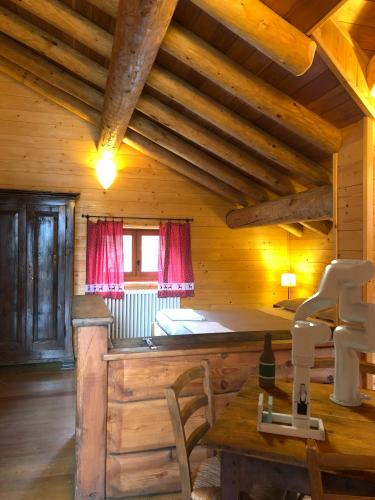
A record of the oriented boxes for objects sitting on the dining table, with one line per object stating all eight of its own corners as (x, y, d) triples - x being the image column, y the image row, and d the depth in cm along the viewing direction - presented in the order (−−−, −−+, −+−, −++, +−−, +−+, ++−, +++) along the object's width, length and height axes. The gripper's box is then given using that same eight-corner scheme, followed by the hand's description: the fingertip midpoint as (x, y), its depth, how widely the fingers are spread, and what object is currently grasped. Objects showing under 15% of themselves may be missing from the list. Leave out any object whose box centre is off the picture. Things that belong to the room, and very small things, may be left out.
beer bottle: (262, 389, 172) (264, 335, 172) (254, 382, 179) (256, 331, 179) (278, 387, 174) (279, 335, 174) (269, 381, 181) (271, 331, 181)
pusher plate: (271, 421, 140) (272, 396, 140) (271, 430, 132) (271, 404, 132) (263, 420, 140) (264, 395, 140) (262, 429, 133) (263, 403, 133)
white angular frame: (321, 425, 137) (322, 400, 137) (324, 440, 127) (325, 413, 126) (259, 417, 142) (259, 393, 142) (257, 431, 132) (258, 405, 132)
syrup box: (309, 434, 130) (311, 392, 130) (291, 432, 132) (293, 390, 132) (308, 427, 136) (309, 386, 136) (291, 424, 137) (292, 384, 137)
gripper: (290, 352, 143) (289, 398, 143) (292, 366, 126) (290, 417, 126) (311, 354, 141) (310, 400, 141) (316, 368, 124) (314, 420, 124)
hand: (301, 408), depth 134 cm, fingers open, 9 cm apart
